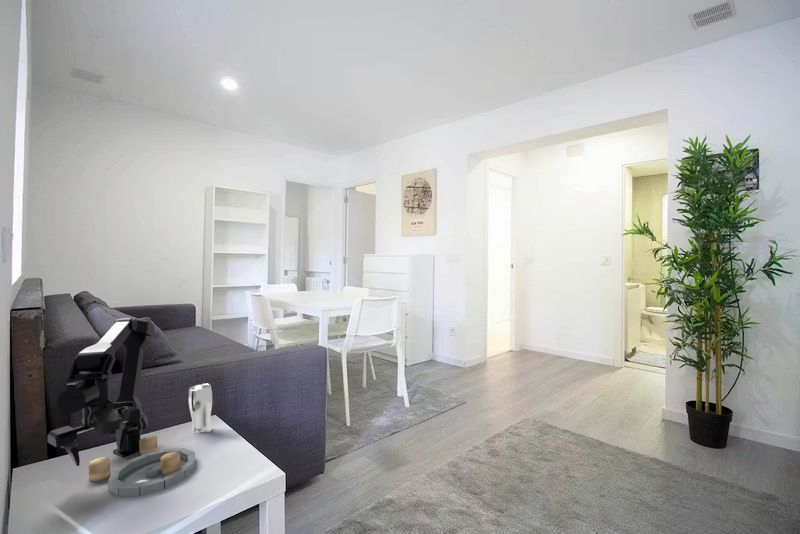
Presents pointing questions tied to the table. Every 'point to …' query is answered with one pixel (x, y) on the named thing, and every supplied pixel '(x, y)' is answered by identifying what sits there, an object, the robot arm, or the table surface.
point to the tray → (149, 473)
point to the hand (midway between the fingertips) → (99, 457)
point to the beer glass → (200, 407)
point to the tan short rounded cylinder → (170, 463)
